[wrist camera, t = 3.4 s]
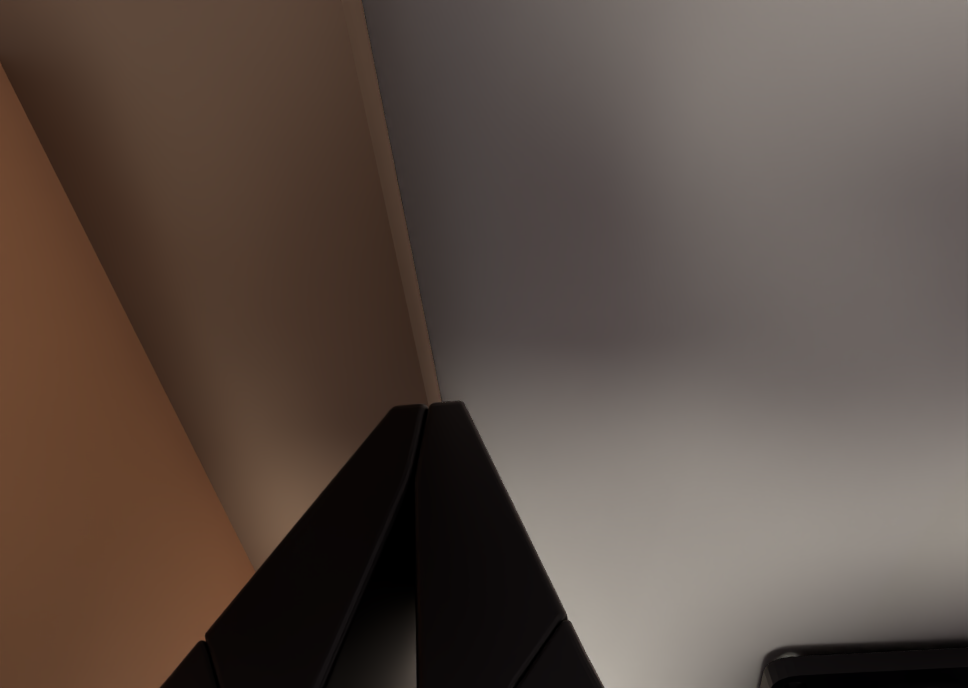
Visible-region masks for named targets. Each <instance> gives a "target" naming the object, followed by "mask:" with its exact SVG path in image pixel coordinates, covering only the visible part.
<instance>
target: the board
mask: <svg viewBox="0 0 968 688" xmlns="http://www.w3.org/2000/svg"><path fill="white" fill-rule="evenodd" d="M0 63H1V65H2V67H3V69H4V71H5V73H6V75H7V77H8V79H9V81H10V83H11V85H12V87H13V89H14V91H15V93H16V95H17V97H18V99H19V101H20V103H21V105H22V107H23V109H24V111H25V113H26V115H27V117H28V119H29V121H30V123H31V125H32V127H33V129H34V131H35V133H36V135H37V137H38V139H39V141H40V143H41V145H42V147H43V149H44V151H45V153H46V155H47V157H48V159H49V161H50V163H51V165H52V167H53V169H54V171H55V173H56V175H57V177H58V179H59V181H60V183H61V185H62V187H63V189H64V191H65V193H66V195H67V197H68V199H69V201H70V203H71V205H72V207H73V209H74V211H75V213H76V215H77V217H78V219H79V221H80V223H81V225H82V227H83V229H84V231H85V233H86V235H87V237H88V239H89V241H90V243H91V245H92V247H93V249H94V251H95V253H96V255H97V257H98V259H99V261H100V263H101V265H102V267H103V269H104V271H105V273H106V275H107V277H108V279H109V281H110V283H111V285H112V287H113V289H114V291H115V293H116V295H117V297H118V299H119V301H120V303H121V305H122V307H123V309H124V311H125V313H126V315H127V317H128V319H129V321H130V323H131V325H132V327H133V329H134V331H135V333H136V335H137V337H138V339H139V341H140V343H141V345H142V347H143V349H144V351H145V353H146V355H147V357H148V359H149V361H150V363H151V365H152V367H153V369H154V371H155V373H156V375H157V377H158V379H159V381H160V383H161V385H162V387H163V389H164V391H165V393H166V394H167V396H168V398H169V400H170V402H171V404H172V406H173V408H174V410H175V412H176V414H177V416H178V418H179V420H180V422H181V424H182V426H183V428H184V430H185V432H186V434H187V436H188V438H189V440H190V442H191V444H192V446H193V448H194V450H195V452H196V454H197V456H198V458H199V460H200V462H201V464H202V466H203V468H204V470H205V472H206V474H207V476H208V478H209V480H210V482H211V484H212V486H213V488H214V490H215V492H216V494H217V496H218V498H219V500H220V502H221V504H222V506H223V508H224V510H225V512H226V514H227V516H228V518H229V520H230V522H231V524H232V526H233V528H234V530H235V532H236V534H237V536H238V538H239V540H240V542H241V544H242V546H243V548H244V550H245V552H246V554H247V556H248V558H249V560H250V562H251V564H252V566H253V568H254V570H255V572H256V571H257V570H258V569H259V568H260V566H261V565H262V564H263V563H264V561H265V560H266V559H267V558H268V557H269V555H270V554H271V553H272V552H273V551H274V549H275V548H276V547H277V546H278V545H279V543H280V542H281V541H282V540H283V538H284V537H285V536H286V535H287V534H288V532H289V531H290V530H291V529H292V528H293V526H294V525H295V524H296V523H297V522H298V520H299V519H300V518H301V517H302V515H303V514H304V513H305V512H306V511H307V509H308V508H309V507H310V506H311V505H312V503H313V502H314V501H315V500H316V499H317V497H318V496H319V495H320V494H321V492H322V491H323V490H324V489H325V488H326V486H327V485H328V484H329V483H330V482H331V480H332V479H333V478H334V477H335V475H336V474H337V473H338V472H339V471H340V469H341V468H342V467H343V466H344V465H345V463H346V462H347V461H348V460H349V459H350V457H351V456H352V455H353V454H354V452H355V451H356V450H357V449H358V448H359V446H360V445H361V444H362V443H363V442H364V440H365V439H366V438H367V437H368V436H369V434H370V433H371V432H372V431H373V429H374V428H375V427H376V426H377V425H378V423H379V422H380V421H381V420H382V419H383V417H384V416H385V415H386V414H387V412H388V411H389V410H390V409H391V408H393V407H394V406H398V405H409V404H421V403H422V404H425V405H427V406H428V407H429V405H431V404H432V403H434V402H442V401H441V396H440V391H439V386H438V381H437V376H436V370H435V365H434V360H433V355H432V350H431V345H430V340H429V335H428V330H427V325H426V320H425V315H424V310H423V305H422V300H421V295H420V290H419V285H418V280H417V275H416V270H415V265H414V260H413V255H412V250H411V245H410V240H409V235H408V230H407V225H406V220H405V215H404V210H403V205H402V200H401V195H400V190H399V185H398V180H397V175H396V170H395V165H394V160H393V155H392V150H391V145H390V140H389V135H388V130H387V125H386V120H385V115H384V110H383V105H382V100H381V95H380V90H379V85H378V80H377V75H376V70H375V65H374V60H373V55H372V50H371V45H370V40H369V35H368V30H367V24H366V19H365V14H364V9H363V4H362V0H0Z"/></svg>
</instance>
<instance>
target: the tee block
mask: <svg viewBox="0 0 968 688" xmlns="http://www.w3.org/2000/svg"><path fill="white" fill-rule="evenodd" d="M254 574H255V570H254V568H253V566H252V564H251V562H250V560H249V558H248V556H247V554H246V552H245V550H244V548H243V546H242V544H241V542H240V540H239V538H238V536H237V534H236V532H235V530H234V528H233V526H232V524H231V522H230V520H229V518H228V516H227V514H226V512H225V510H224V508H223V506H222V504H221V502H220V500H219V498H218V496H217V494H216V492H215V490H214V488H213V486H212V484H211V482H210V480H209V478H208V476H207V474H206V472H205V470H204V468H203V466H202V464H201V462H200V460H199V458H198V456H197V454H196V452H195V450H194V448H193V446H192V444H191V442H190V440H189V438H188V436H187V434H186V432H185V430H184V428H183V426H182V424H181V422H180V420H179V418H178V416H177V414H176V412H175V410H174V408H173V406H172V404H171V402H170V400H169V398H168V396H167V394H166V393H165V391H164V389H163V387H162V385H161V383H160V381H159V379H158V377H157V375H156V373H155V371H154V369H153V367H152V365H151V363H150V361H149V359H148V357H147V355H146V353H145V351H144V349H143V347H142V345H141V343H140V341H139V339H138V337H137V335H136V333H135V331H134V329H133V327H132V325H131V323H130V321H129V319H128V317H127V315H126V313H125V311H124V309H123V307H122V305H121V303H120V301H119V299H118V297H117V295H116V293H115V291H114V289H113V287H112V285H111V283H110V281H109V279H108V277H107V275H106V273H105V271H104V269H103V267H102V265H101V263H100V261H99V259H98V257H97V255H96V253H95V251H94V249H93V247H92V245H91V243H90V241H89V239H88V237H87V235H86V233H85V231H84V229H83V227H82V225H81V223H80V221H79V219H78V217H77V215H76V213H75V211H74V209H73V207H72V205H71V203H70V201H69V199H68V197H67V195H66V193H65V191H64V189H63V187H62V185H61V183H60V181H59V179H58V177H57V175H56V173H55V171H54V169H53V167H52V165H51V163H50V161H49V159H48V157H47V155H46V153H45V151H44V149H43V147H42V145H41V143H40V141H39V139H38V137H37V135H36V133H35V131H34V129H33V127H32V125H31V123H30V121H29V119H28V117H27V115H26V113H25V111H24V109H23V107H22V105H21V103H20V101H19V99H18V97H17V95H16V93H15V91H14V89H13V87H12V85H11V83H10V81H9V79H8V77H7V75H6V73H5V71H4V69H3V67H2V65H1V63H0V688H160V686H161V685H162V684H163V683H164V682H165V681H166V679H167V678H168V677H169V676H170V675H171V674H172V672H173V671H174V670H175V669H176V668H177V666H178V665H179V664H180V663H181V662H182V660H183V659H184V658H185V657H186V656H187V654H188V653H189V652H190V651H191V649H192V648H193V647H194V646H195V645H196V643H197V642H198V641H200V640H204V641H205V642H206V640H205V633H206V632H207V631H208V629H209V628H210V627H211V626H212V624H213V623H214V622H215V621H216V620H217V618H218V617H219V616H220V615H221V614H222V612H223V611H224V610H225V609H226V608H227V606H228V605H229V604H230V603H231V601H232V600H233V599H234V598H235V597H236V595H237V594H238V593H239V592H240V591H241V589H242V588H243V587H244V586H245V585H246V583H247V582H248V581H249V580H250V578H251V577H252V576H253V575H254Z"/></svg>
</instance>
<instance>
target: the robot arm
mask: <svg viewBox="0 0 968 688" xmlns="http://www.w3.org/2000/svg"><path fill="white" fill-rule="evenodd" d="M205 640H206V642H205V641H204V640H200V641H198V642H197V643H196V645H195V646H194V647H193V648H192V649H191V651H190V652H189V653H188V654H187V656H186V657H185V658H184V659H183V660H182V662H181V663H180V664H179V665H178V666H177V668H176V669H175V670H174V671H173V672H172V674H171V675H170V676H169V677H168V678H167V679H166V681H165V682H164V683H163V684H162V685H161V686H160V688H604V686H603V684H602V682H601V680H600V678H599V677H598V675H597V673H596V671H595V669H594V667H593V665H592V663H591V661H590V660H589V658H588V656H587V654H586V652H585V650H584V648H583V646H582V644H581V642H580V640H579V637H578V635H577V633H576V631H575V629H574V627H573V625H572V623H571V622H570V621H569V620H567V614H566V612H565V610H564V608H563V605H562V603H561V601H560V599H559V597H558V595H557V593H556V591H555V589H554V587H553V585H552V583H551V581H550V579H549V577H548V575H547V572H546V570H545V568H544V566H543V564H542V562H541V560H540V558H539V556H538V554H537V552H536V550H535V548H534V546H533V544H532V542H531V539H530V537H529V535H528V533H527V531H526V529H525V527H524V525H523V523H522V521H521V519H520V517H519V515H518V513H517V511H516V509H515V506H514V504H513V502H512V500H511V498H510V496H509V494H508V492H507V490H506V488H505V486H504V484H503V482H502V480H501V478H500V476H499V474H498V471H497V469H496V467H495V465H494V463H493V461H492V459H491V457H490V455H489V453H488V451H487V449H486V447H485V445H484V443H483V441H482V438H481V436H480V434H479V432H478V430H477V428H476V426H475V424H474V422H473V420H472V418H471V416H470V414H469V412H468V410H467V408H466V406H465V404H464V403H463V402H462V401H446V402H434V403H432V404H431V405H429V407H428V406H427V405H425V404H422V403H421V404H409V405H398V406H394V407H393V408H391V409H390V410H389V411H388V412H387V414H386V415H385V416H384V417H383V419H382V420H381V421H380V422H379V423H378V425H377V426H376V427H375V428H374V429H373V431H372V432H371V433H370V434H369V436H368V437H367V438H366V439H365V440H364V442H363V443H362V444H361V445H360V446H359V448H358V449H357V450H356V451H355V452H354V454H353V455H352V456H351V457H350V459H349V460H348V461H347V462H346V463H345V465H344V466H343V467H342V468H341V469H340V471H339V472H338V473H337V474H336V475H335V477H334V478H333V479H332V480H331V482H330V483H329V484H328V485H327V486H326V488H325V489H324V490H323V491H322V492H321V494H320V495H319V496H318V497H317V499H316V500H315V501H314V502H313V503H312V505H311V506H310V507H309V508H308V509H307V511H306V512H305V513H304V514H303V515H302V517H301V518H300V519H299V520H298V522H297V523H296V524H295V525H294V526H293V528H292V529H291V530H290V531H289V532H288V534H287V535H286V536H285V537H284V538H283V540H282V541H281V542H280V543H279V545H278V546H277V547H276V548H275V549H274V551H273V552H272V553H271V554H270V555H269V557H268V558H267V559H266V560H265V561H264V563H263V564H262V565H261V566H260V568H259V569H258V570H257V571H256V572H255V574H254V575H253V576H252V577H251V578H250V580H249V581H248V582H247V583H246V585H245V586H244V587H243V588H242V589H241V591H240V592H239V593H238V594H237V595H236V597H235V598H234V599H233V600H232V601H231V603H230V604H229V605H228V606H227V608H226V609H225V610H224V611H223V612H222V614H221V615H220V616H219V617H218V618H217V620H216V621H215V622H214V623H213V624H212V626H211V627H210V628H209V629H208V631H207V632H206V633H205ZM760 688H968V648H950V649H931V650H912V651H893V652H874V653H855V654H836V655H816V656H797V657H787V658H781V659H778V660H776V661H773V662H772V663H770V664H769V665H767V666H766V668H765V670H764V672H763V677H762V681H761V685H760Z"/></svg>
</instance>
